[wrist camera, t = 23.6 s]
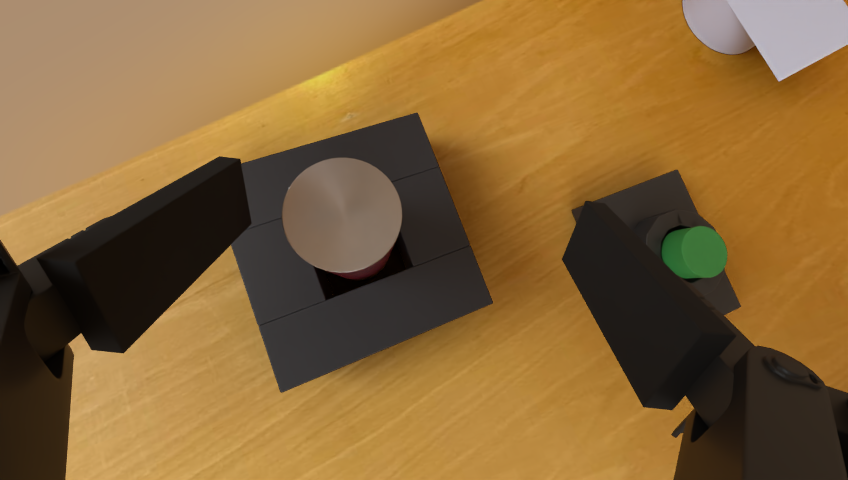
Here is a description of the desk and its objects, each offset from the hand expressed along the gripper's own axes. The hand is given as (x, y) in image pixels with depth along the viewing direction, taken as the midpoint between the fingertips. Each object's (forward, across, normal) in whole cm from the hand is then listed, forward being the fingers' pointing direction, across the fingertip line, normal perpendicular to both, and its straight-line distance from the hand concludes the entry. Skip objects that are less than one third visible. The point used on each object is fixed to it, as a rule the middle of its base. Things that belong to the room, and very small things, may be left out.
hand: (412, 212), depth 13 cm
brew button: (+10, +20, -6) cm, 23 cm away
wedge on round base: (+29, +30, +10) cm, 42 cm away
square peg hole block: (+9, -4, -8) cm, 13 cm away
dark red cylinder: (+9, -4, -8) cm, 13 cm away
